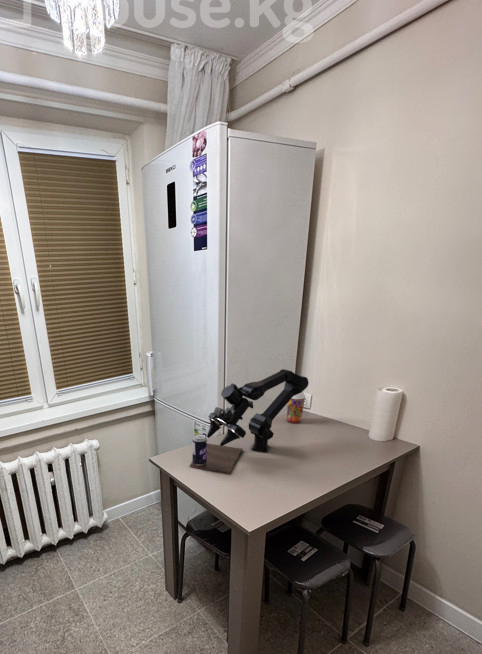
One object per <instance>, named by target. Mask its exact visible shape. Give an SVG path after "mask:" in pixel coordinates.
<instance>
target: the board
mask: <svg viewBox="0 0 482 654" xmlns="http://www.w3.org/2000/svg"><path fill="white" fill-rule="evenodd" d="M242 451H243V448H239V447H234V446H228V445H223V446H221V445H220V444H214V443H208V442H207V462H206V463H205V464H204V465H201V466H198V465H195V464H194V463H193V461H191V463H190V464H189V467H190V468H194V469H199V470H205V471H211V472H216V473H219V474H220V473H221V474H226V475H230V474H231V472H232V470H233V468H234V466H235V464H236V463H237V460H238V459H239V458H240V456H241V454H242Z"/></svg>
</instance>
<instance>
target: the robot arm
mask: <svg viewBox="0 0 482 654" xmlns="http://www.w3.org/2000/svg"><path fill="white" fill-rule="evenodd" d="M309 382H310V381H309V379H308V377H306V376H303V375H299V374H297V373H295V372H294V371H292V370H289V369H285V368H283V369H280V370H279V371H277V372H276V373H273V374H272V375H269V376H267V377H265V378H263V379H261V380H258V381H251V382H247V383H245V384H244V385H243V386H239V387H238V386H237V384H235V383H231V384H230V385H227V386H225V387H223V389H221V392H220V395H221V397H222V398H223V399H224V400H225V401H226V402H227V403H228V404H229V405H230V407H226V408H225V409H224V408H222V407H217V406H215V408H214V411H213V412H210V413H209V415H207V417H208V420H209V424H210V425H209V428H208V432H207V434H206V438H208V439H209V438H211V437H212V436H213V435H215V434H216V433H217V432H218V431H219V430H220V429H221V426H224V427H226V428H227V431H226V434H225V436H224V437H223V438H222V440H221V441H220V443H219V445H221V446H226V445H227V444H229V443H231V442H233V441H236V440H237V439H238V440H239V439H241V438H242V439H244V438H245V436H246V435H247V432H246V430H245V429H244V428H243V427H242V426H240V425H239V424H237V423H238V422H239V421H240V420H241V421H243V420H244V417H243V415H245V413H246V411H247V410H248V409H252V410H253V409H254V402H253V401H258V400H259V399H261V398H262V397H264V395H265V393H266V392H267V391H269V390H271V389H273V388H275V387H277V386H279V385H281V384H283V383H284V385H283V386H284V387H283V389H282V390H281V392H280V393H279V394H278V395H277V396H276V397H275V399H273V401H272V402H271V403H270V404H269V406H267V408H266V409H265V410H264V411H263V412H262V413H258V412H257V413H255V414H254V415H253V416H252V417H251V418H250V419H249V422H248V431H250V434H252V435H253V436H254V439H253V444H252V447H251V450H252V451H255V452H256V451H258V452H263V453H268V451H269V449H270V445H269V440H271V439H273V437H274V435H275V434H274V432H273V431H272V430H271V428H272V426H273V425H272V424H273V421H274V420H275V418H276V417H277V416H278V415H279V413H280V412H281V411H282V410H283V409H284V408H285V407H286V406H287V403H288V402H289V401H290V399H291V398H292V397H293V396H294V395H297V394H299V393H301V392H304V391H305V390H306V389H307V388H308V386H309Z"/></svg>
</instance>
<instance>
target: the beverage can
mask: <svg viewBox="0 0 482 654" xmlns="http://www.w3.org/2000/svg"><path fill="white" fill-rule="evenodd" d="M191 442H192V443H191V444H192V450H191V451H192V462H193V463H194V464H195V465H198V466H201V465H204V464H205V463H206V462H207V443H208V439H207V435H206V434H202V433H196V434H194V435H193V436H192V441H191Z"/></svg>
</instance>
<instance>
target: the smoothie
mask: <svg viewBox="0 0 482 654" xmlns="http://www.w3.org/2000/svg"><path fill="white" fill-rule="evenodd" d="M305 399H306V395H305V393H304V391H302V392H301V393H299V394H297V395H294V396H293V397H292V398H291V399H290V401H289V402H288V403H287V404H286V419H287V422H288V423H290V424H299V423H300V422H301V421H302V416H303V412H304V407H305V406H304V405H305Z"/></svg>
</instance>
